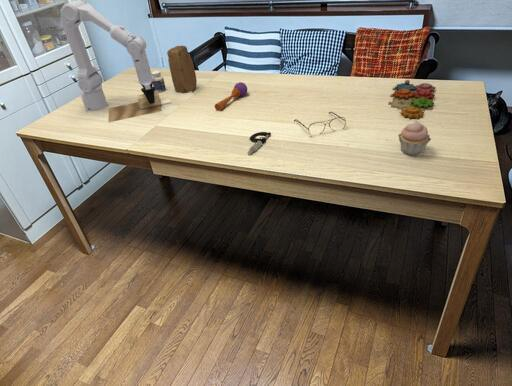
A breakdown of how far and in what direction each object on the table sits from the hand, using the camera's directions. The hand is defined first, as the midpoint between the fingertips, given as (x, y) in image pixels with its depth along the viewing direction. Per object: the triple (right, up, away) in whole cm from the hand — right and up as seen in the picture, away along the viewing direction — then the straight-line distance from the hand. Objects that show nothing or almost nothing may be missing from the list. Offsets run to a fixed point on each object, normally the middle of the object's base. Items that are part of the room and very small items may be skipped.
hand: (151, 100), depth 160 cm
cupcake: (+94, -27, -46) cm, 108 cm away
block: (+13, +8, +15) cm, 21 cm away
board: (-7, -5, +1) cm, 9 cm away
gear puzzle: (+105, -6, -18) cm, 107 cm away
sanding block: (-1, -2, +1) cm, 3 cm away
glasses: (+68, -16, -25) cm, 75 cm away
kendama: (+35, -1, -1) cm, 35 cm away
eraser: (+6, -2, +3) cm, 7 cm away
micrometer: (+45, -23, -32) cm, 60 cm away
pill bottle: (0, +8, +16) cm, 18 cm away
